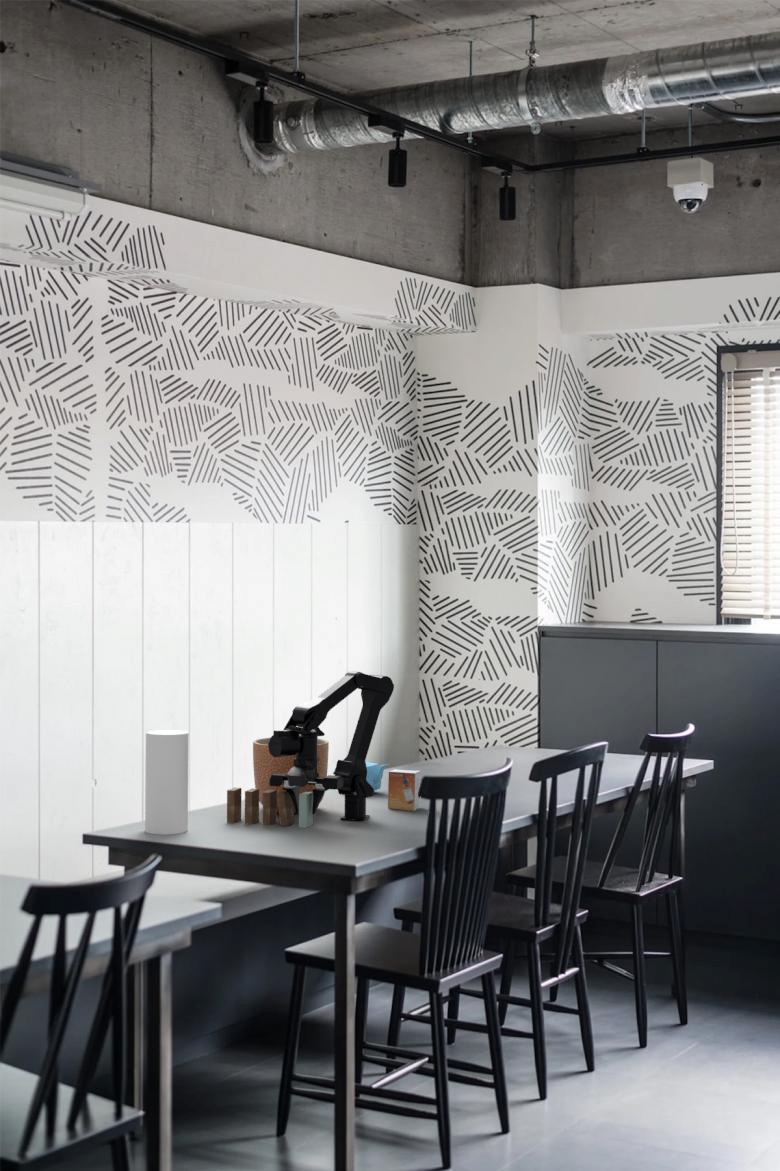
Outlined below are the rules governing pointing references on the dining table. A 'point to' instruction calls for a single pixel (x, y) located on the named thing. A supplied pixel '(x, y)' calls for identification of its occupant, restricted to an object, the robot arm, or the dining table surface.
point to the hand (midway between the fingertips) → (305, 814)
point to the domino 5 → (305, 809)
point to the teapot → (374, 774)
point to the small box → (403, 789)
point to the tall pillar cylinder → (166, 782)
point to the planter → (282, 766)
